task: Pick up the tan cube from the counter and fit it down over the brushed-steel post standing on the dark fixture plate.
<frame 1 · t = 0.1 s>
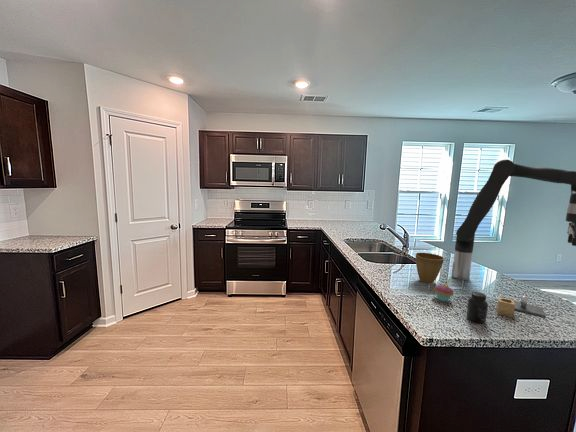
hand: (572, 244, 127), 29 cm above the countertop, fingers open, 8 cm apart
plant pot: (426, 281, 150), on the countertop
supplement bottle: (475, 320, 107), on the countertop
cupcake: (442, 299, 127), on the countertop
post fixture: (522, 308, 119), on the countertop
tan cube: (504, 313, 114), on the countertop
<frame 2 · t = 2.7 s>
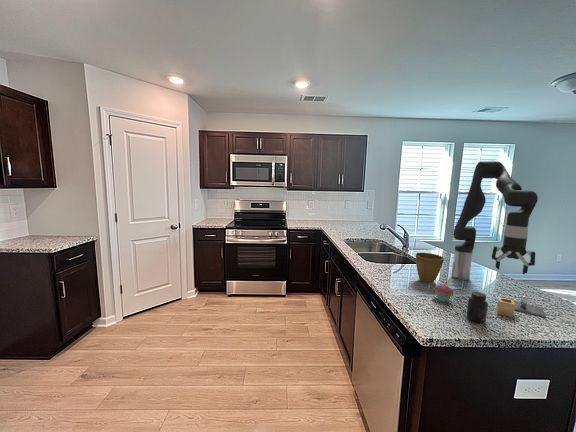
hand: (510, 271, 112), 20 cm above the countertop, fingers open, 8 cm apart
nothing on the countertop moved.
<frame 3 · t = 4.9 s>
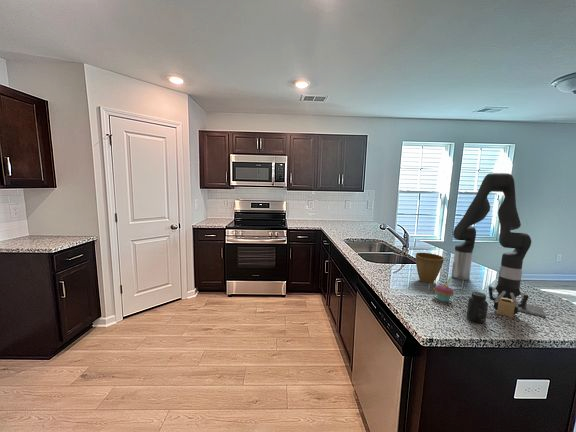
hand: (504, 311, 114), 1 cm above the countertop, fingers closed on tan cube, 5 cm apart
tan cube: (504, 313, 114), on the countertop, touching gripper
everything else where it was.
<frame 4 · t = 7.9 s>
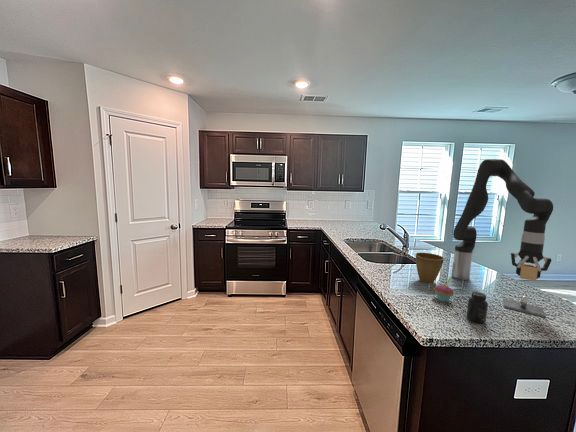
hand: (527, 276, 117), 16 cm above the countertop, fingers closed on tan cube, 5 cm apart
tan cube: (527, 278, 117), point 15 cm above the countertop, touching gripper
everything else where it was.
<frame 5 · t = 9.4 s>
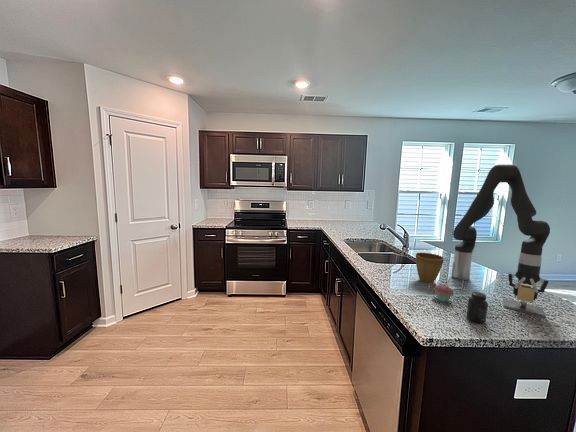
hand: (524, 297, 118), 6 cm above the countertop, fingers closed on tan cube, 5 cm apart
tan cube: (524, 298, 118), point 5 cm above the countertop, touching gripper
everything else where it was.
when the fingers open (3 cm above the countertop, at t = 10.8 s): tan cube drops 2 cm, resting on post fixture.
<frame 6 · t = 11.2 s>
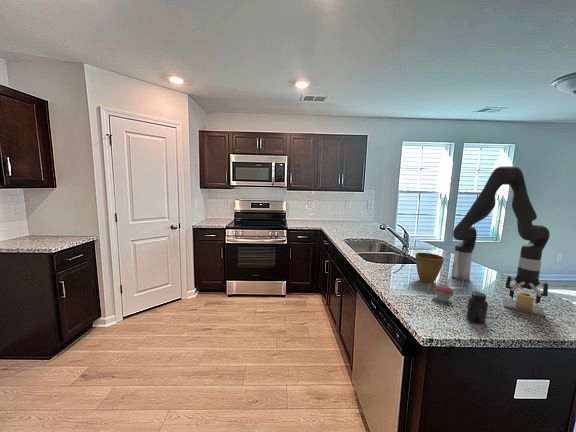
hand: (524, 300, 118), 4 cm above the countertop, fingers open, 8 cm apart
tan cube: (523, 306, 119), point 1 cm above the countertop, touching post fixture
everything else where it was.
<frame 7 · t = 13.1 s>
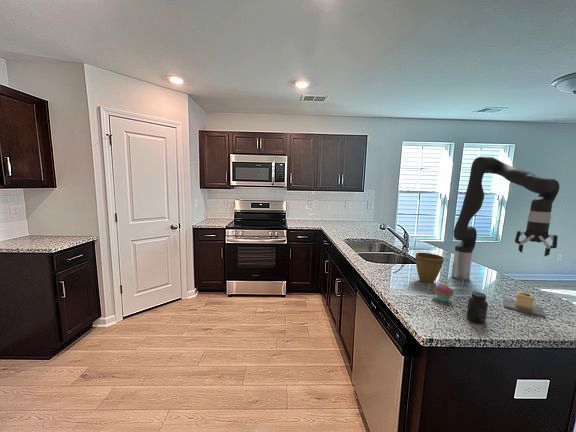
hand: (533, 254, 120), 26 cm above the countertop, fingers open, 8 cm apart
nothing on the countertop moved.
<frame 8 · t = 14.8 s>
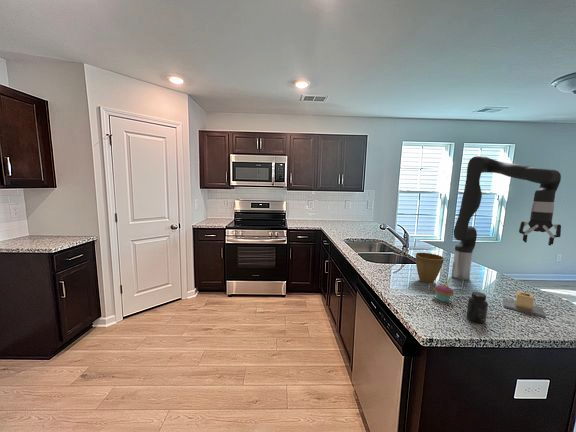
hand: (537, 243, 123), 30 cm above the countertop, fingers open, 8 cm apart
nothing on the countertop moved.
at the end: tan cube 0.0 cm off-centre on the post fixture, point 1.0 cm above the post fixture's base; the gripper is holding nothing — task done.
